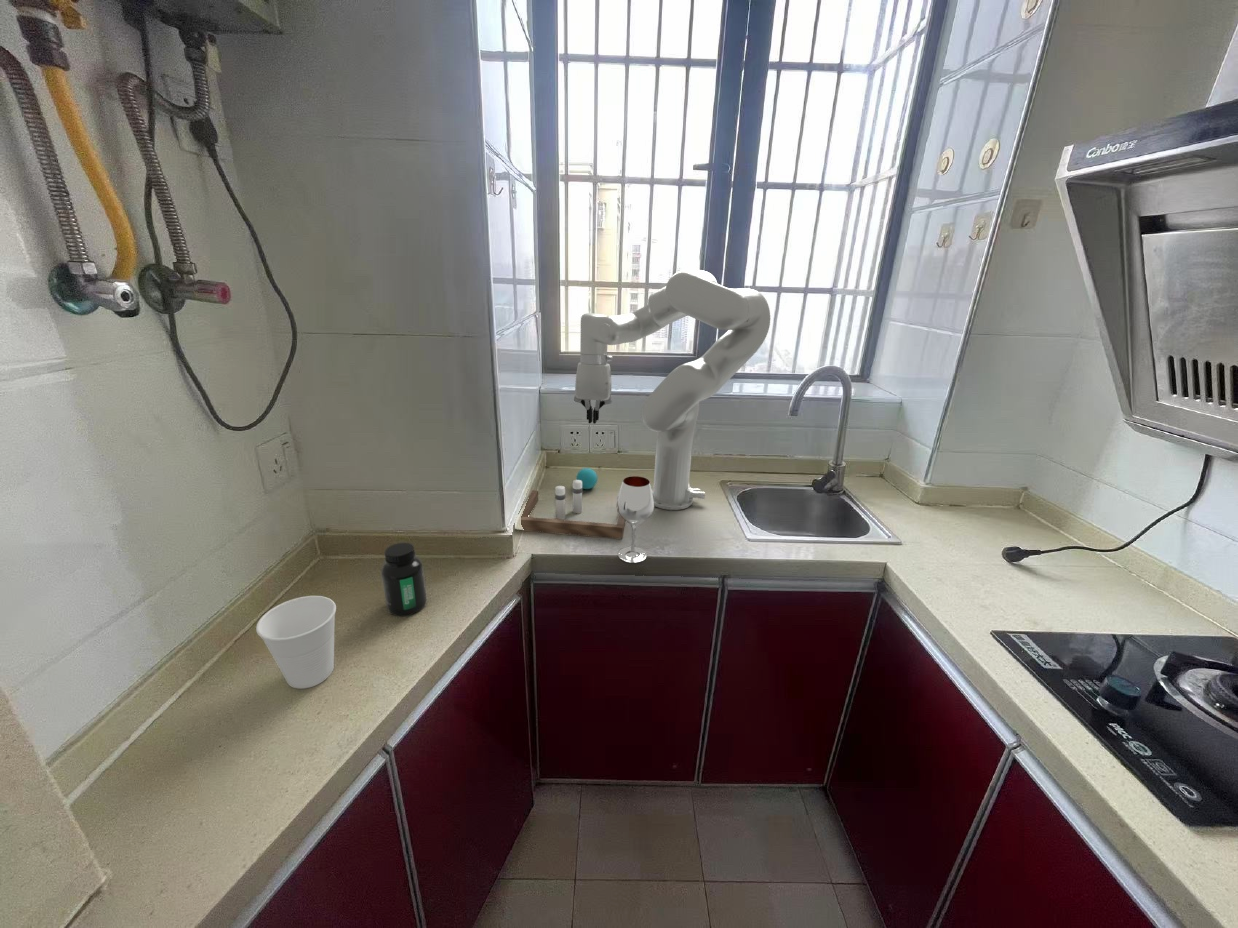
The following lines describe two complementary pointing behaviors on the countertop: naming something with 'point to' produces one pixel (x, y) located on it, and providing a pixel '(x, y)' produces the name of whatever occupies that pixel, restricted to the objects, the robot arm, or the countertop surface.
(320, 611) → the cup
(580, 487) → the pin
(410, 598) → the supplement bottle
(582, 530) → the wooden u-shaped frame
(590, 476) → the ball
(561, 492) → the pin
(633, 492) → the wineglass
